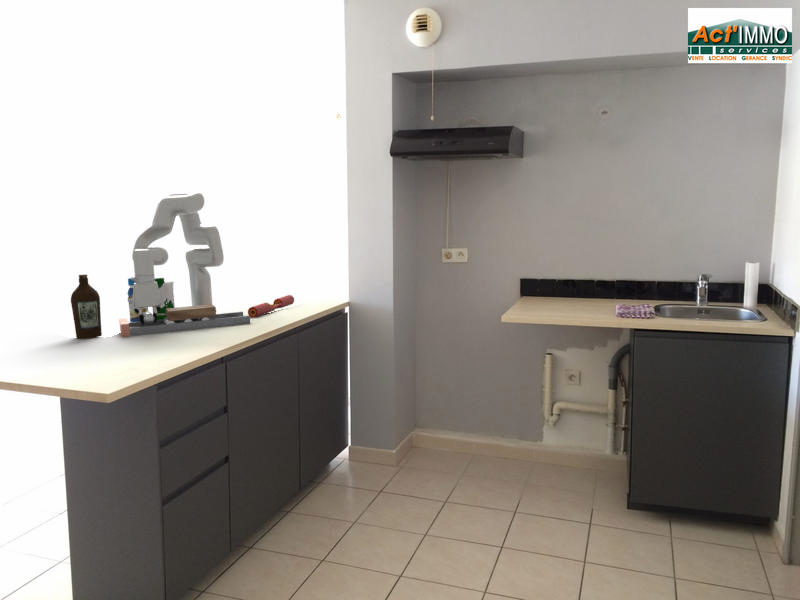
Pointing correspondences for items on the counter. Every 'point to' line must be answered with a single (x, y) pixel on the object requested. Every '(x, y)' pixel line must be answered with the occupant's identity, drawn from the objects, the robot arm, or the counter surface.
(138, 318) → the beverage bottle
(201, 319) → the roller
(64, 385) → the counter surface
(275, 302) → the artery
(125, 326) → the track
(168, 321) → the roller
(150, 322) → the roller
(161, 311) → the milk carton
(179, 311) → the slab
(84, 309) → the olive oil
